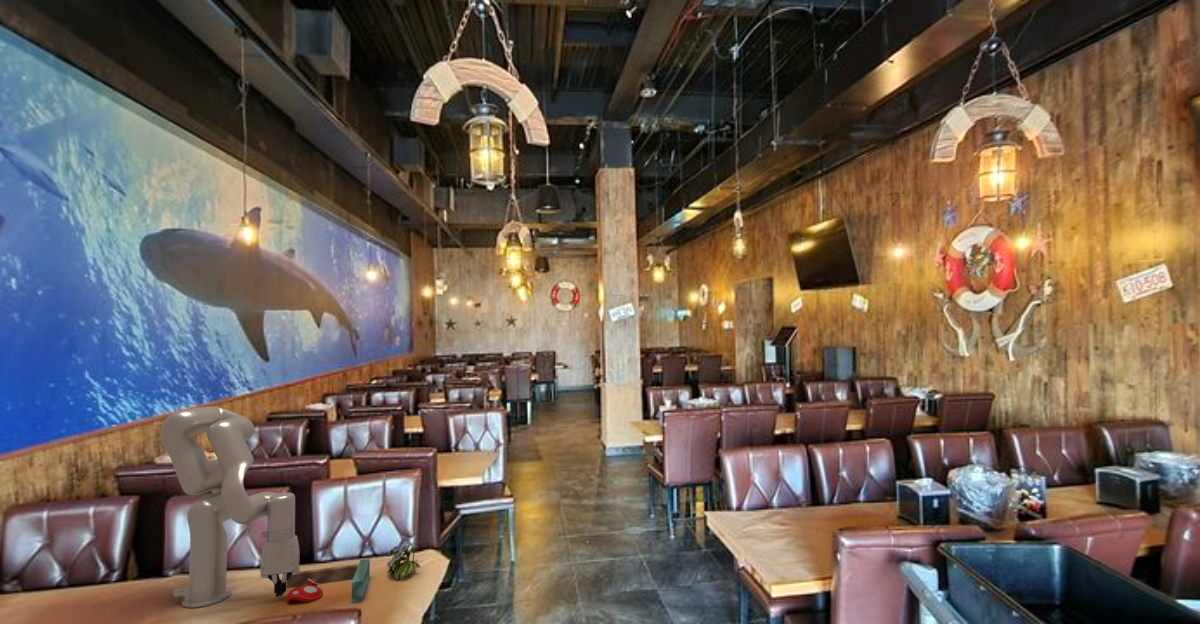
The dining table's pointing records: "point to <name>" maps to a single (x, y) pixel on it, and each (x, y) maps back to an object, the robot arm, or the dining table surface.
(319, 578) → the frame
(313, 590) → the tracker holder
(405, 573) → the passion flower
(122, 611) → the dining table surface
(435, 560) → the dining table surface
